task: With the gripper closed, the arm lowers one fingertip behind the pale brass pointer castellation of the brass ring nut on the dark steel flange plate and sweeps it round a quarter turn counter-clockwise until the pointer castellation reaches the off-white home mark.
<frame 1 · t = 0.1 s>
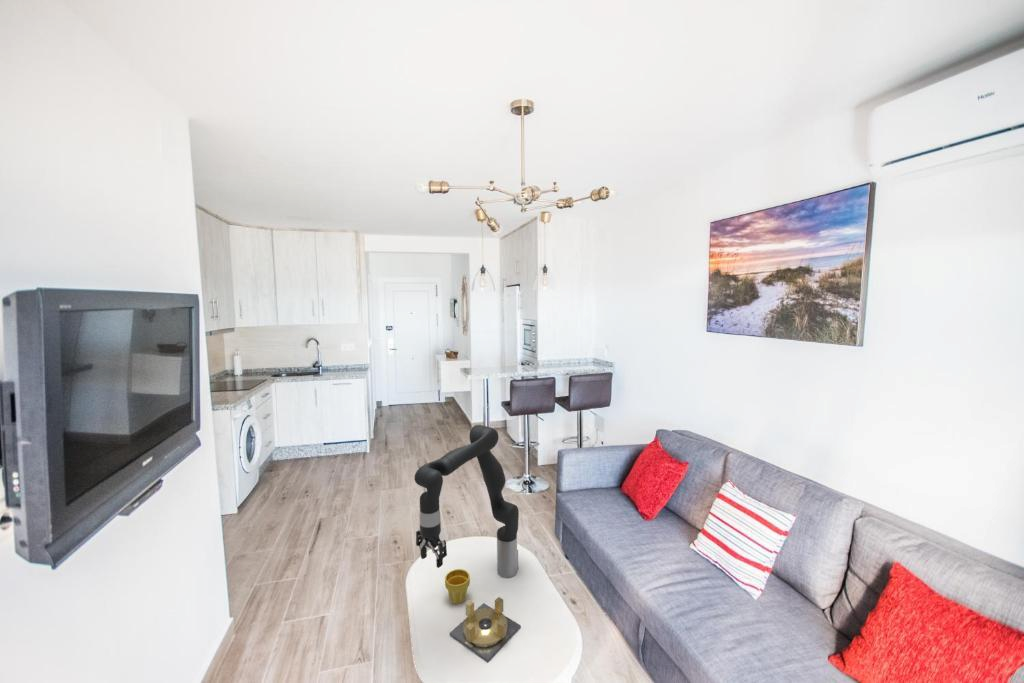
hand: (431, 562, 153), 29 cm above the table, fingers open, 8 cm apart
plant pot: (457, 598, 175), on the table
flange plate: (485, 631, 157), on the table
ring nut: (485, 620, 157), point 5 cm above the table, hinge at 0.0°
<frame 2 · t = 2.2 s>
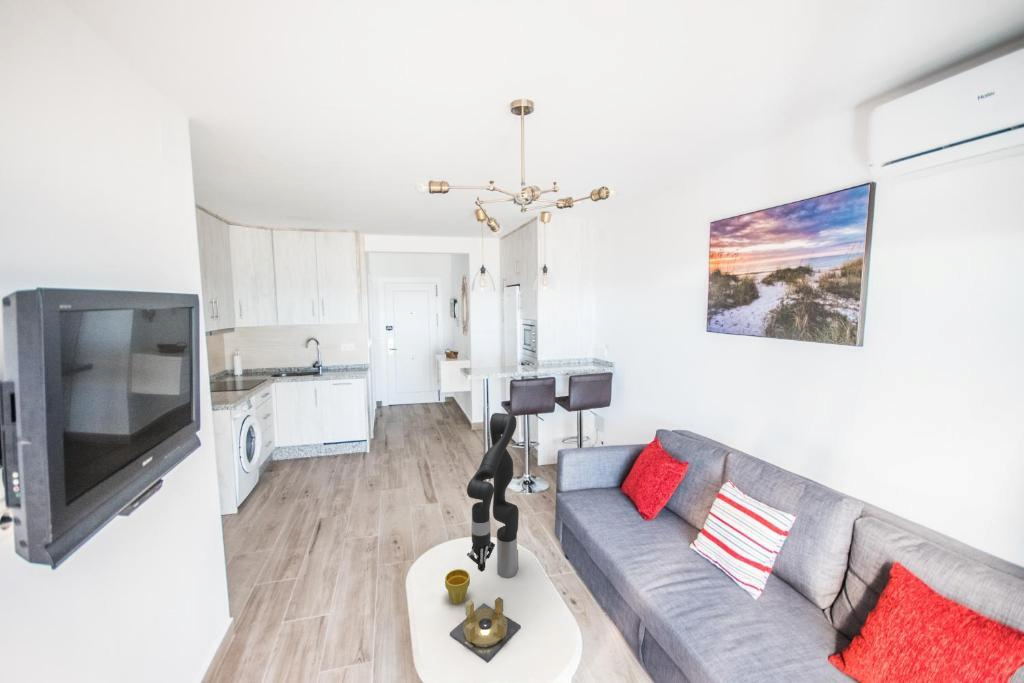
hand: (481, 570, 166), 17 cm above the table, fingers closed
nothing on the table moved.
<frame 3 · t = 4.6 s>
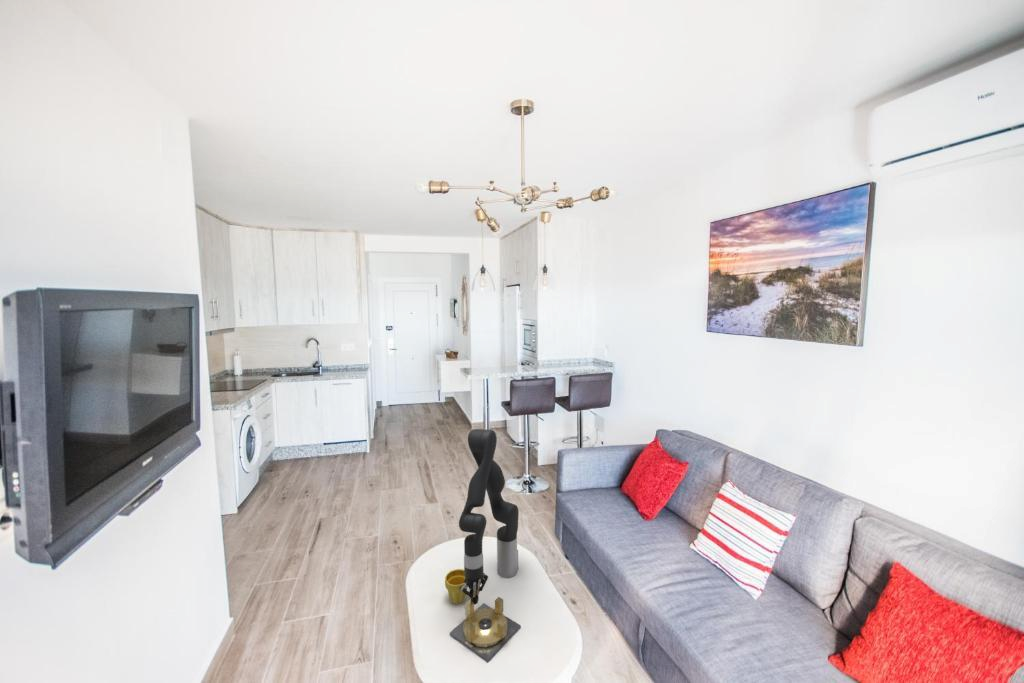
hand: (474, 603, 164), 6 cm above the table, fingers closed
ring nut: (485, 620, 157), point 5 cm above the table, hinge at 0.1°, touching gripper
everything else where it was.
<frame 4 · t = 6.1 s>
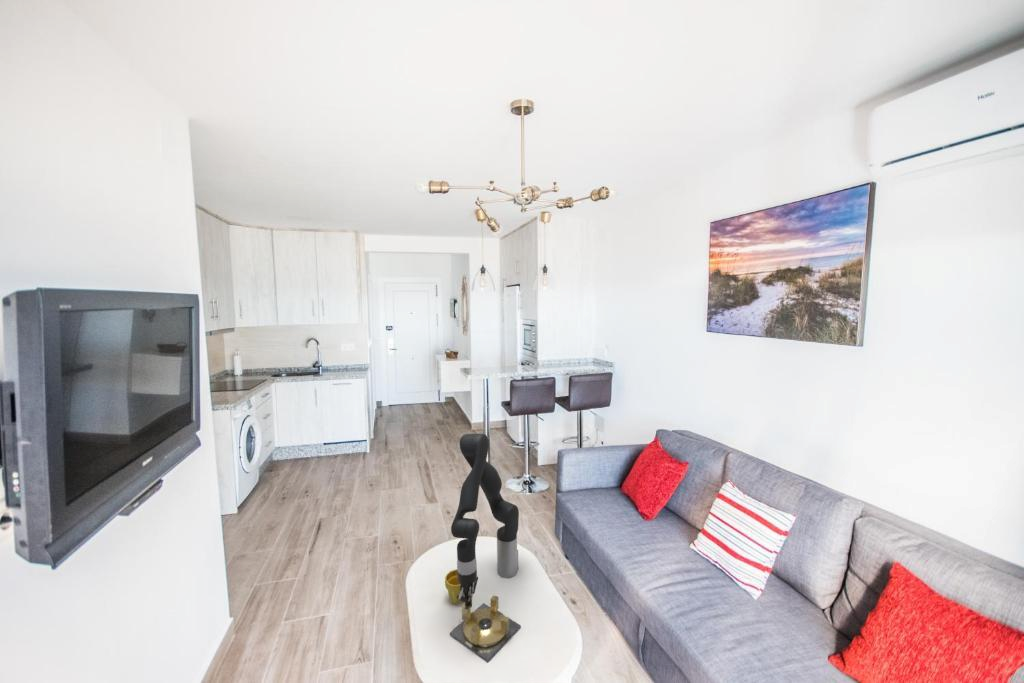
hand: (468, 607, 162), 6 cm above the table, fingers closed
ring nut: (485, 620, 157), point 5 cm above the table, hinge at 15.5°, touching gripper
everything else where it was.
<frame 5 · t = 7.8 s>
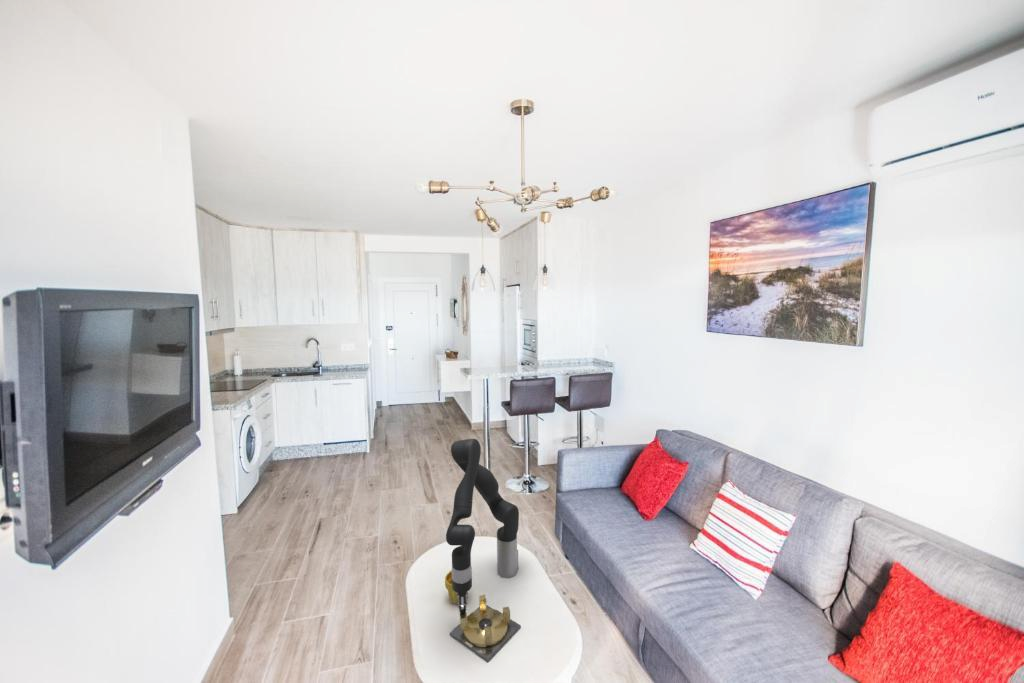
hand: (463, 616, 157), 6 cm above the table, fingers closed
ring nut: (485, 620, 157), point 5 cm above the table, hinge at 49.1°, touching gripper
everything else where it was.
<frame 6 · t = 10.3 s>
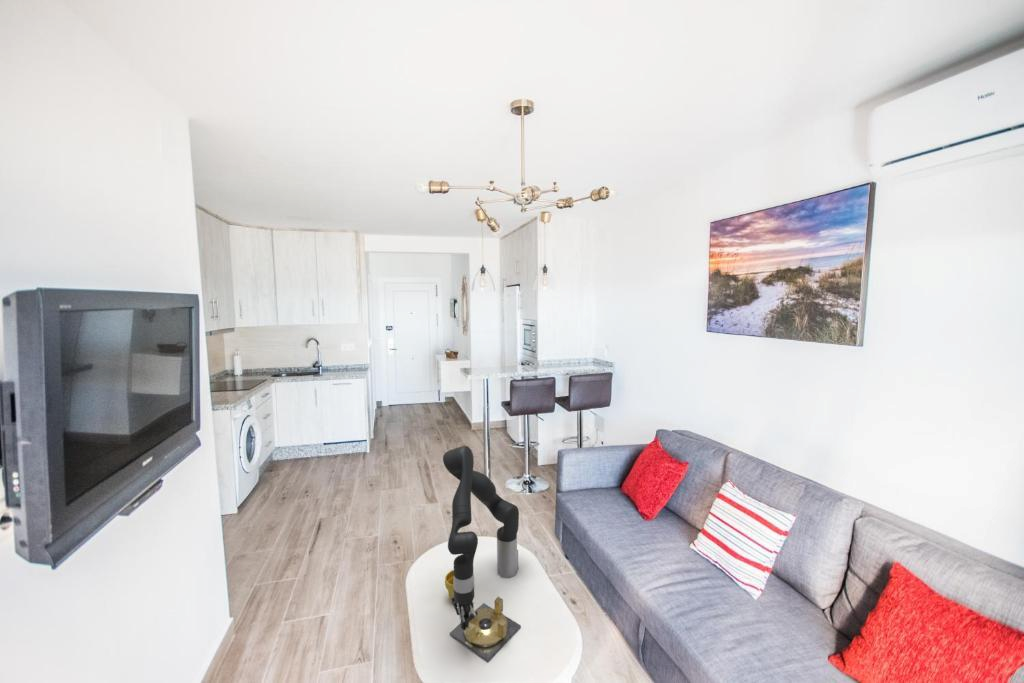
hand: (464, 628, 151), 6 cm above the table, fingers closed
ring nut: (485, 620, 157), point 5 cm above the table, hinge at 91.3°, touching gripper
everything else where it was.
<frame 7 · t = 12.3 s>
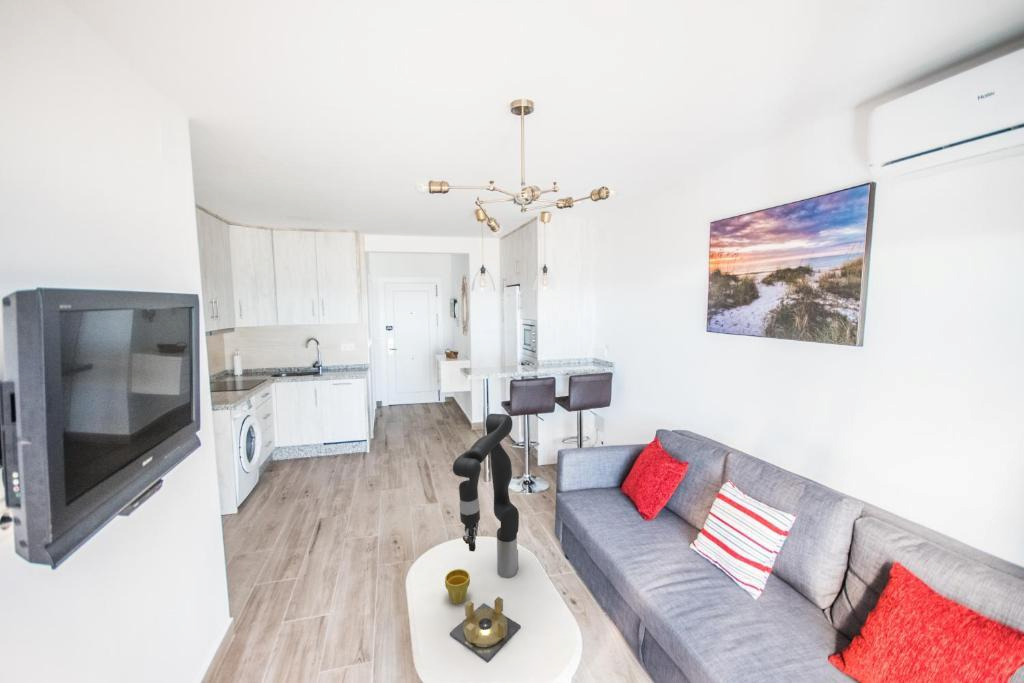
hand: (472, 550, 160), 29 cm above the table, fingers closed
ring nut: (485, 620, 157), point 5 cm above the table, hinge at 91.3°
everything else where it was.
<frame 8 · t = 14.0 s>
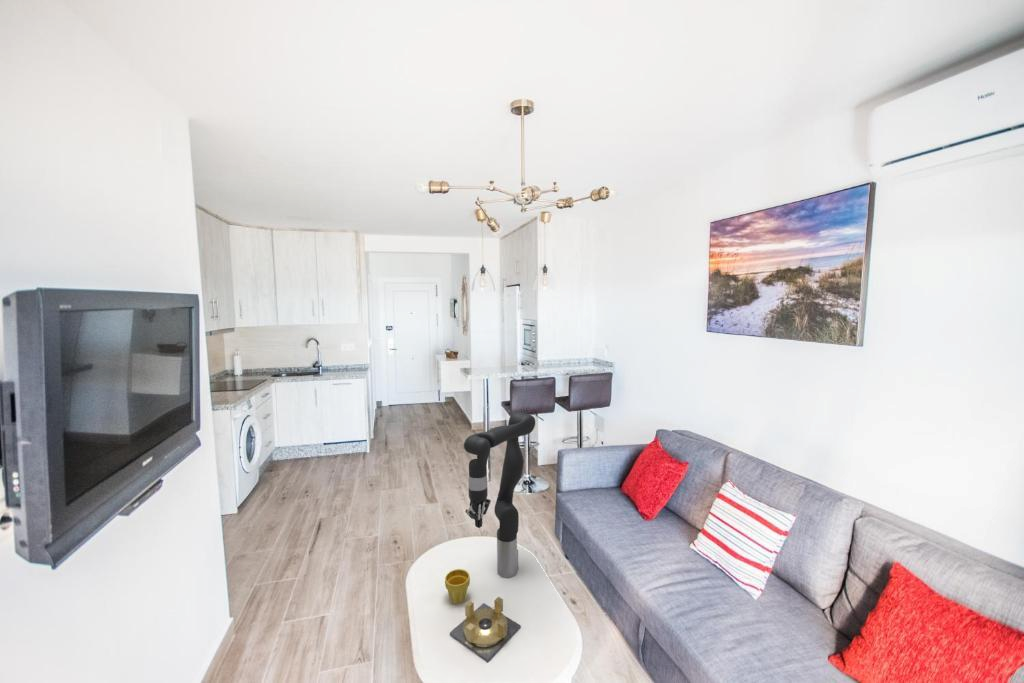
hand: (478, 526, 166), 35 cm above the table, fingers closed
nothing on the table moved.
at the end: ring nut at +91° (first picture: +0°); ring nut touching nothing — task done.
